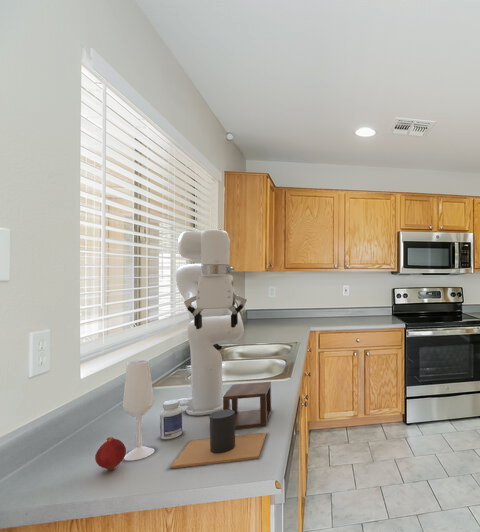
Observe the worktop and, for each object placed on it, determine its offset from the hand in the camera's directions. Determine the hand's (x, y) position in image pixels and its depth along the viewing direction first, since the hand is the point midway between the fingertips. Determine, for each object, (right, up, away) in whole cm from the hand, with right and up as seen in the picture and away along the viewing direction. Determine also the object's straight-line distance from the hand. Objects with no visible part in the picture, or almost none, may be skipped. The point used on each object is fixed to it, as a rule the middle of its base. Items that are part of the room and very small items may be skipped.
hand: (216, 327), depth 112 cm
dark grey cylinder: (+9, -30, -14) cm, 34 cm away
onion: (-14, -31, -23) cm, 41 cm away
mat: (+8, -30, -14) cm, 34 cm away
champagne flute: (-13, -31, -15) cm, 36 cm away
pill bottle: (-11, -31, -5) cm, 33 cm away
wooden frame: (+8, -30, +5) cm, 32 cm away
